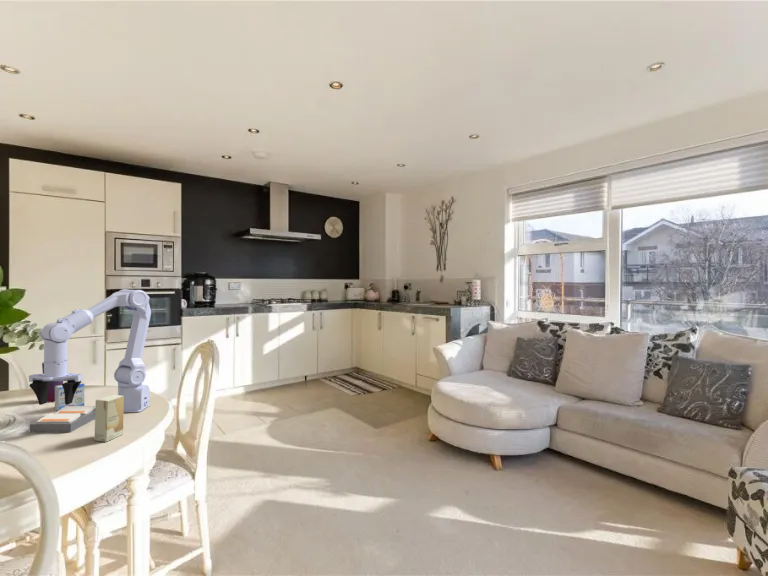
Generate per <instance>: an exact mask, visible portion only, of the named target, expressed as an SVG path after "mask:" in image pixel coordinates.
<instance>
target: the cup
mask: <svg viewBox="0 0 768 576" xmlns="http://www.w3.org/2000/svg"><path fill="white" fill-rule="evenodd" d="M41 368H42V369H41V370H42V374H44V361H42V362H41ZM63 383H64V381H50V382H49V386H48V391H47V403H55V386H59V385H62V384H63Z"/></svg>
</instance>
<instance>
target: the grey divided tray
mask: <svg viewBox="0 0 768 576" xmlns="http://www.w3.org/2000/svg"><path fill="white" fill-rule="evenodd" d="M56 412H57V411H56ZM56 412H54V413H52V414H55V413H56ZM37 421H38V420H36V421H33V422H31V423H29V425H28V426H29V427H28V428H29V433H36V434H37V433H71V432H74V431H76V430H77V429H79V428H81V427H83V426H85V425H87V424H88V423H90V422H92V421H95V409H94V410H93V411H92V412H90V413H88V414H86V415H80V417H79V418H78V419H76V420H74V421H73V422H71V423H37Z"/></svg>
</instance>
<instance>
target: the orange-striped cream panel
mask: <svg viewBox="0 0 768 576" xmlns="http://www.w3.org/2000/svg"><path fill="white" fill-rule="evenodd" d="M95 406H96V405H84V406H65V407H63V408H62V409H60V410H59V411H56V413H55V412H54V413H55V414H75V413H80V415H86V414H88V413H90V412H92V411H93V410H94V409H95Z"/></svg>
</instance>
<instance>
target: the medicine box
mask: <svg viewBox="0 0 768 576" xmlns="http://www.w3.org/2000/svg"><path fill="white" fill-rule="evenodd" d="M85 388H86V387H85V383H84V382H82V381H81V383H80V385H79V386H78V388H77V390H76V392H75V394H74V397H73V401H72V403H70V404H68V405H65V393H64V389H63V386H62V385H59V386H55V402H54V410H56V412H58V411H59V410H60V409H62V408H63V407H65V406H85V395H86V394H85V392H86V391H85Z"/></svg>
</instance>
